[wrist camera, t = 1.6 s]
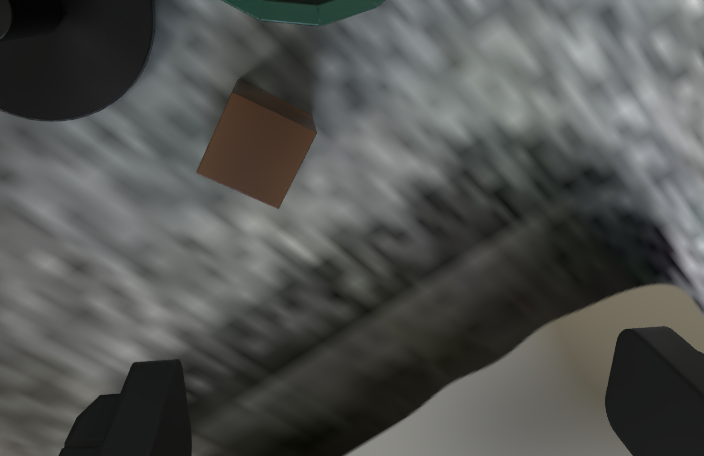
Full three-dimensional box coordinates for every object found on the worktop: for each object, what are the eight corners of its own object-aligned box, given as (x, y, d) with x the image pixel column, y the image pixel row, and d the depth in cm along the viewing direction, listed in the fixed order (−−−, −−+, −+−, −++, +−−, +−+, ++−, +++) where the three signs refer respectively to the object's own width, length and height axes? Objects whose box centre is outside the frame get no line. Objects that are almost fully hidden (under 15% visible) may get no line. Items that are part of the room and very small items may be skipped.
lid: (-107, 55, 26) (-217, 72, 20) (-48, -177, 23) (-157, -234, 17) (114, 151, 28) (73, 190, 23) (191, -46, 26) (166, -57, 20)
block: (206, 150, 29) (195, 173, 25) (238, 78, 28) (232, 91, 24) (278, 183, 30) (278, 209, 26) (312, 115, 29) (317, 132, 25)
